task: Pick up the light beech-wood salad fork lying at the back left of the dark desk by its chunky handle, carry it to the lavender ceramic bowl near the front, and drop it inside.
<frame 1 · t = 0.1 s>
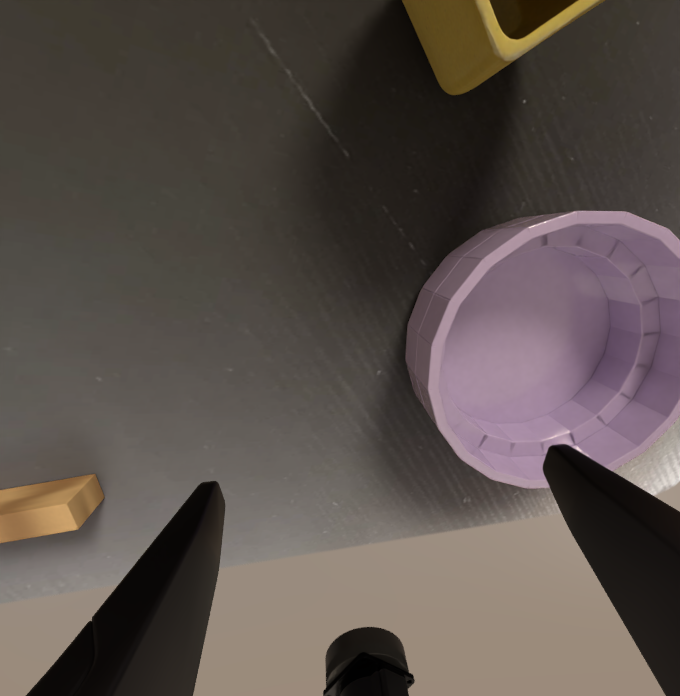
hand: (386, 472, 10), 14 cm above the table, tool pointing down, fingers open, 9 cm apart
bowl: (515, 338, 24), on the table
fork: (21, 499, 25), on the table
flower pot: (457, 13, 19), on the table
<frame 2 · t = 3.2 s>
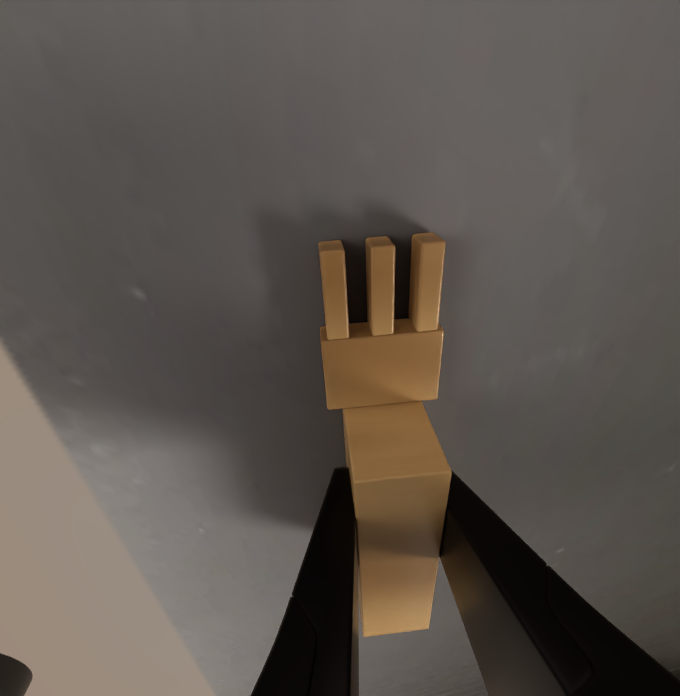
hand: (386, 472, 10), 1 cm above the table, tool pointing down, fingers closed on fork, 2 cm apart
fork: (377, 427, 10), on the table, touching gripper
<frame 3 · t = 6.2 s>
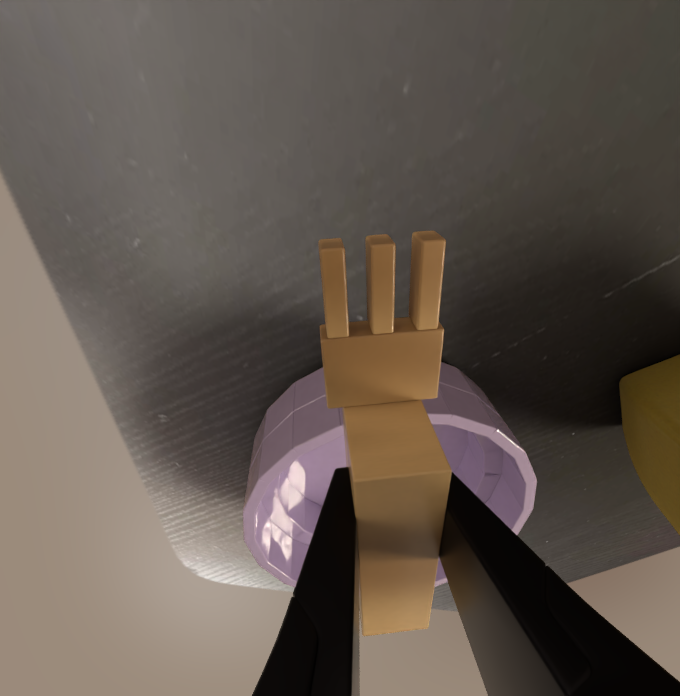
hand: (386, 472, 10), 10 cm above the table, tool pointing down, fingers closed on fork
bowl: (374, 446, 23), on the table
fork: (377, 426, 10), point 9 cm above the table, touching gripper
flower pot: (655, 385, 23), on the table
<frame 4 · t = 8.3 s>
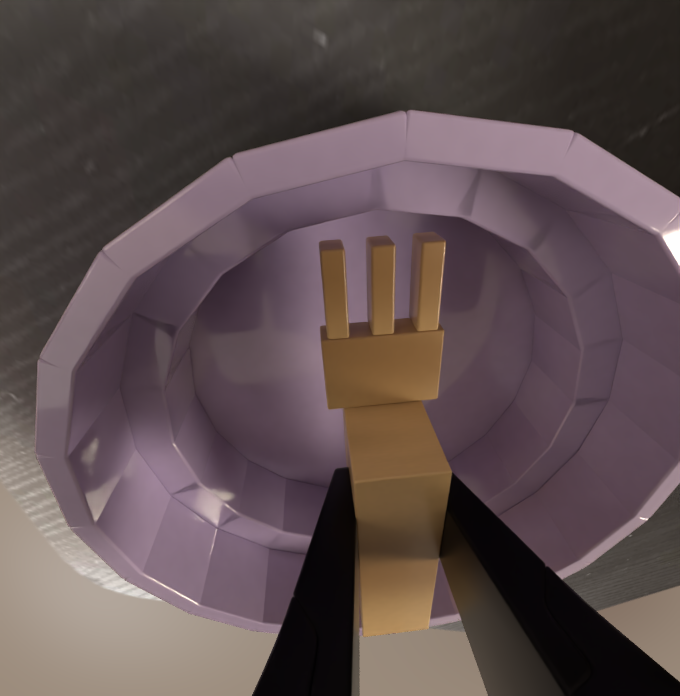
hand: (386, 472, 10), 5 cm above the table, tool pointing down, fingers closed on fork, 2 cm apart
bowl: (364, 366, 13), on the table
fork: (378, 427, 10), point 3 cm above the table, touching gripper
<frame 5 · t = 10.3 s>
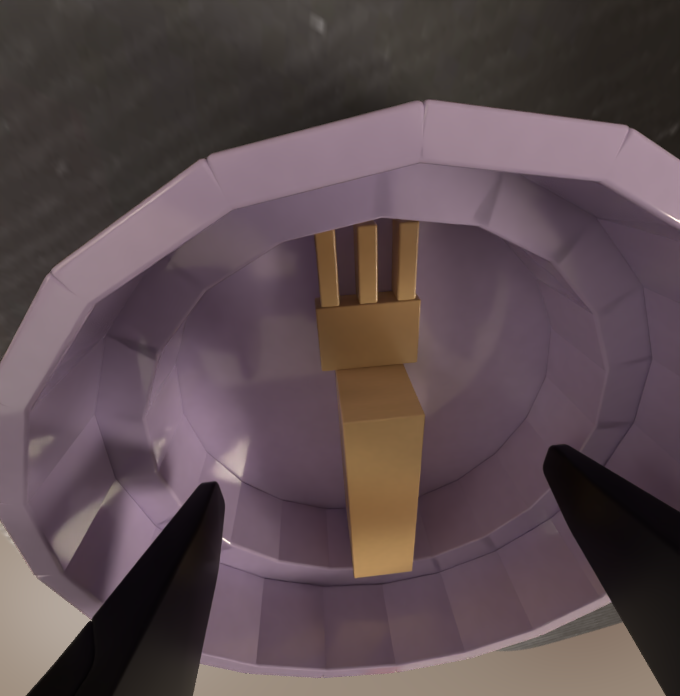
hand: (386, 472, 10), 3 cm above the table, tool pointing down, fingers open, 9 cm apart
bowl: (365, 382, 12), on the table
fork: (366, 391, 12), point 1 cm above the table, touching bowl
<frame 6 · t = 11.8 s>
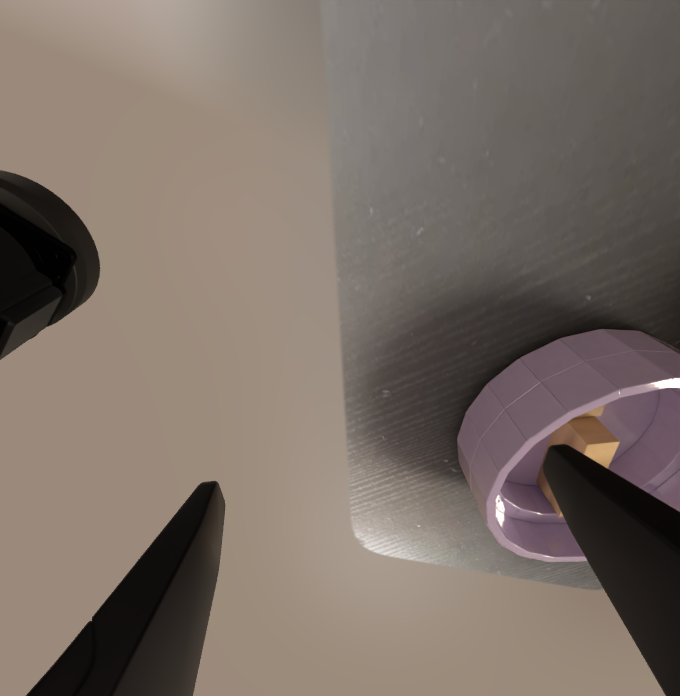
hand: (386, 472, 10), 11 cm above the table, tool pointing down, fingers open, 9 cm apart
bowl: (562, 421, 25), on the table
fork: (566, 426, 25), point 1 cm above the table, touching bowl
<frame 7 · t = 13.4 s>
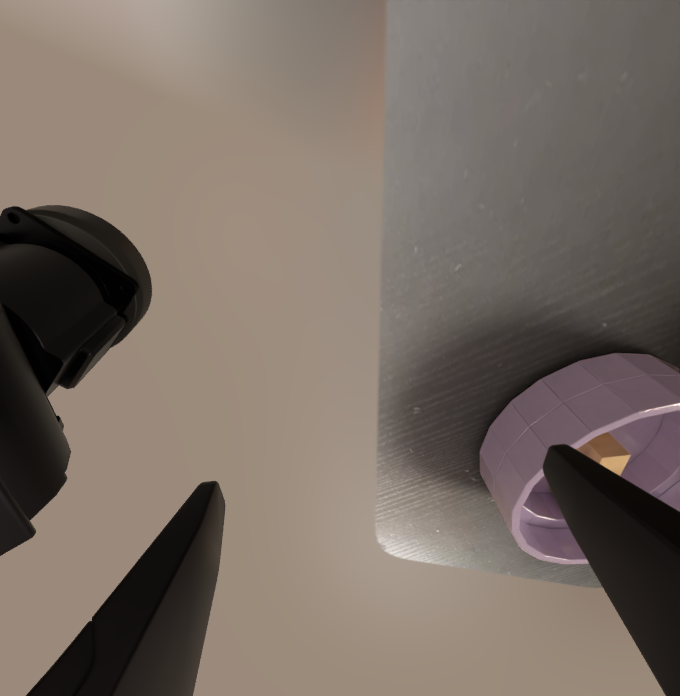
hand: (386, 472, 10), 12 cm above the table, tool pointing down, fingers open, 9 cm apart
bowl: (575, 434, 27), on the table
fork: (579, 439, 27), point 1 cm above the table, touching bowl
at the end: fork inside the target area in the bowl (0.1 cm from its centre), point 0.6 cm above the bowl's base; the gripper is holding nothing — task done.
